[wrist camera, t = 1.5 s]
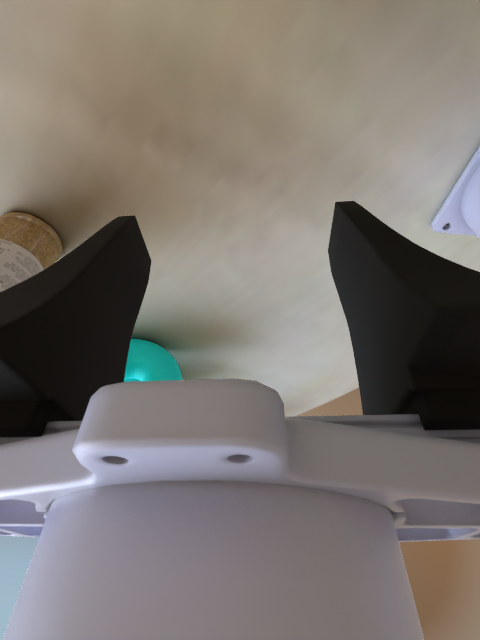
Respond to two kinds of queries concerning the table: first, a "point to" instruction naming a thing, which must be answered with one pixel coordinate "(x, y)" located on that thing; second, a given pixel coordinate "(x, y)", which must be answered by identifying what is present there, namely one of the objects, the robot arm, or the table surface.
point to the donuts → (150, 363)
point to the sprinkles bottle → (25, 248)
